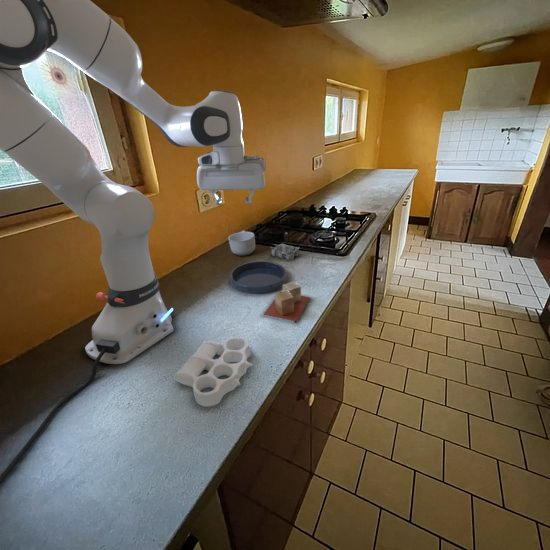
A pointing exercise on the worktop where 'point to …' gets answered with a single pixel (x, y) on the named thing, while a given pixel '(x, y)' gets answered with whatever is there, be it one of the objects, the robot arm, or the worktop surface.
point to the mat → (292, 316)
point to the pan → (258, 277)
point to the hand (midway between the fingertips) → (233, 204)
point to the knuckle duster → (215, 369)
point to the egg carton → (285, 251)
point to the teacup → (242, 243)
